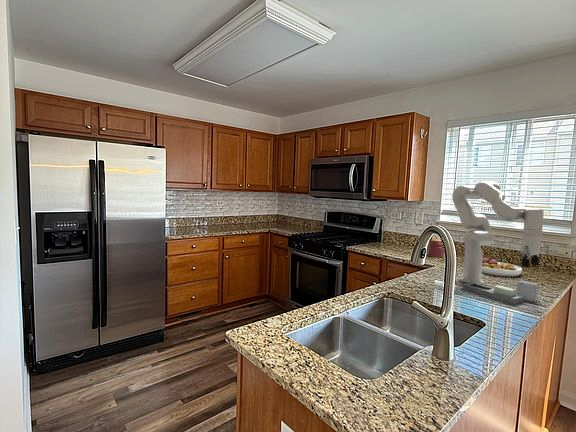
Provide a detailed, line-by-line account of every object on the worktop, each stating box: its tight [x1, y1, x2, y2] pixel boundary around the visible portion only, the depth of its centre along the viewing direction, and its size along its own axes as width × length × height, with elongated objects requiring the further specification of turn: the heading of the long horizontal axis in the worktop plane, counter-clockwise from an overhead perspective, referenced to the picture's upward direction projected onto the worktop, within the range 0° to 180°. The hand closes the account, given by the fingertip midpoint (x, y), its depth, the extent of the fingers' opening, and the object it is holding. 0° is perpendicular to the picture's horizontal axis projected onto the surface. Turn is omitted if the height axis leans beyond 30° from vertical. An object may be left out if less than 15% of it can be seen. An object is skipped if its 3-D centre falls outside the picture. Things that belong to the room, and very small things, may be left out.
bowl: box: [481, 257, 523, 278], centre depth 220 cm, size 30×30×8 cm
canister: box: [427, 235, 445, 258], centre depth 270 cm, size 13×13×18 cm
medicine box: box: [516, 280, 539, 302], centre depth 161 cm, size 8×4×9 cm, turn 44°
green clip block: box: [493, 284, 517, 297], centre depth 160 cm, size 4×8×6 cm, turn 29°
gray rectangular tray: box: [462, 283, 525, 306], centre depth 166 cm, size 10×26×3 cm, turn 29°
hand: (530, 265), depth 160 cm, fingers open, 9 cm apart
